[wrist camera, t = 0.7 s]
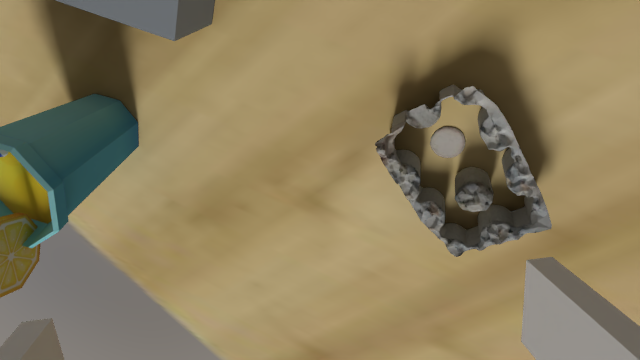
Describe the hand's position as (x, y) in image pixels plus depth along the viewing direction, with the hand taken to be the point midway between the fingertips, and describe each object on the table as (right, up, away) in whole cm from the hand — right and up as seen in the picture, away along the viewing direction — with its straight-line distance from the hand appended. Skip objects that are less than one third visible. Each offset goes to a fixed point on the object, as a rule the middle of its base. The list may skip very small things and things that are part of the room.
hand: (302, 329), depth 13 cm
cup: (-16, +9, +23) cm, 29 cm away
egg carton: (+10, +6, +18) cm, 22 cm away
